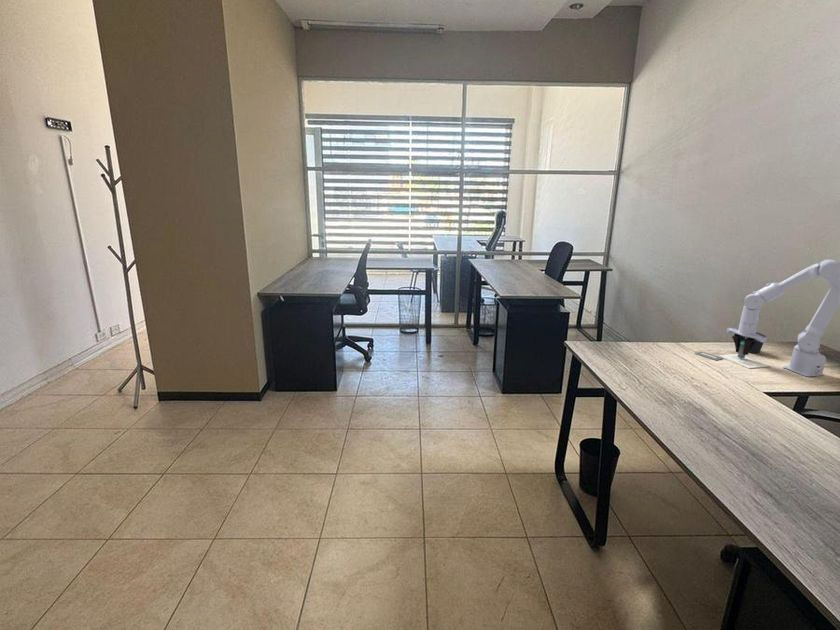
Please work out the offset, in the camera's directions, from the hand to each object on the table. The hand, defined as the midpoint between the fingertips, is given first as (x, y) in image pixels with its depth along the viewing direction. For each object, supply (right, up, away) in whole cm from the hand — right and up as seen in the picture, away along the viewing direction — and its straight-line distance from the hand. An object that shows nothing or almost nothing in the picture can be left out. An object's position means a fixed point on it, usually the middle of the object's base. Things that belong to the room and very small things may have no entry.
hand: (741, 353), depth 177 cm
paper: (-1, -3, -1) cm, 4 cm away
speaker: (+12, 0, +10) cm, 16 cm away
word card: (-11, -2, +5) cm, 12 cm away
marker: (0, -2, 0) cm, 2 cm away
